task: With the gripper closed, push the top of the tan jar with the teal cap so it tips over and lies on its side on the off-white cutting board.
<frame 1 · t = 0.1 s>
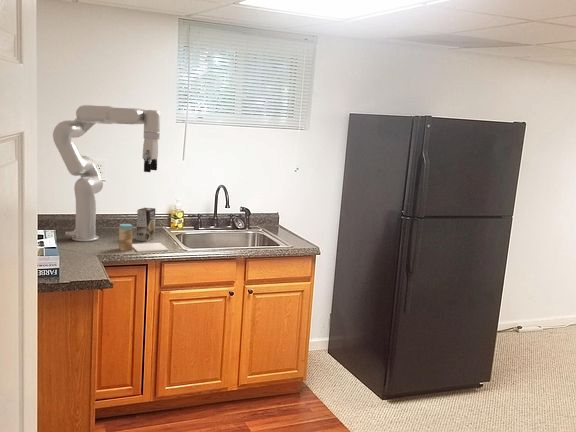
hand: (150, 171, 288), 37 cm above the counter, tool pointing down, fingers open, 9 cm apart
coffee box: (145, 239, 306), on the counter
tan jar: (125, 249, 283), on the counter
cutting board: (149, 248, 288), on the counter
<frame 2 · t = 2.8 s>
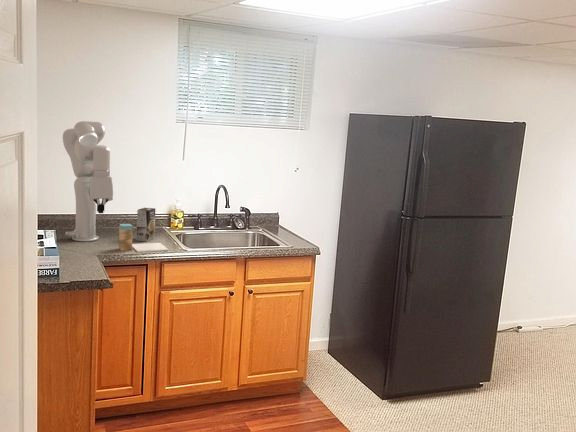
hand: (100, 212, 273), 18 cm above the counter, tool pointing down, fingers closed
nothing on the counter moved.
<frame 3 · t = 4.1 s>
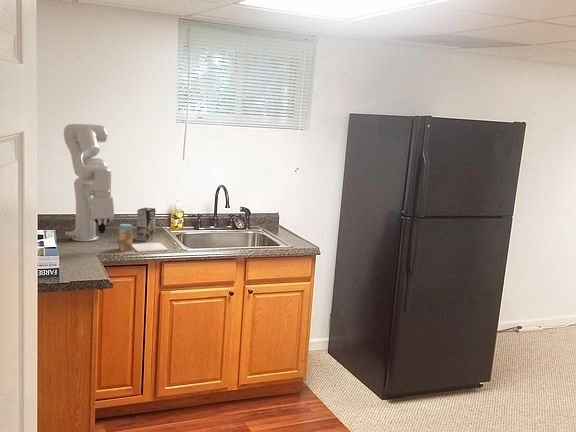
hand: (101, 232, 276), 9 cm above the counter, tool pointing down, fingers closed
nothing on the counter moved.
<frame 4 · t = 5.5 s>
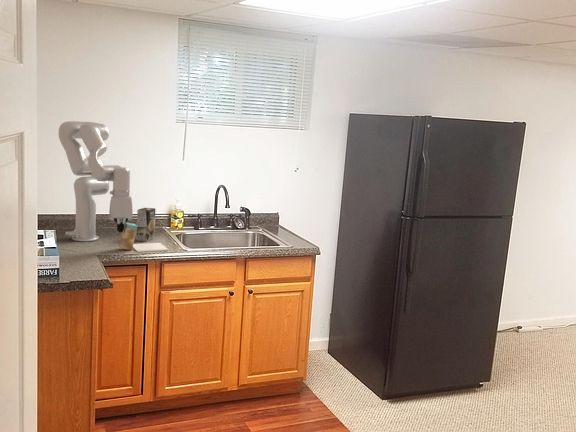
hand: (120, 231, 280), 9 cm above the counter, tool pointing down, fingers closed
tan jar: (125, 248, 282), on the counter, tilted 12°
everything else where it was.
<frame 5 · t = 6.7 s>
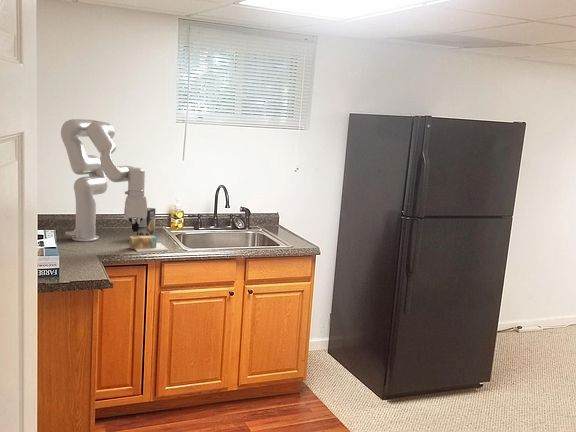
hand: (135, 231, 283), 9 cm above the counter, tool pointing down, fingers closed
tan jar: (130, 242, 283), point 3 cm above the counter, tilted 90°, touching cutting board
everything else where it was.
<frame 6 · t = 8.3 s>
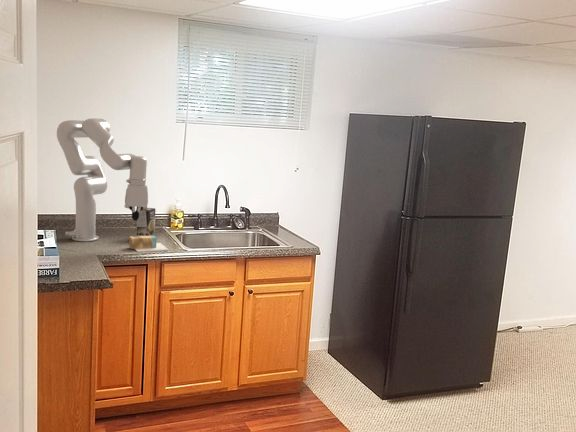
hand: (135, 219, 283), 14 cm above the counter, tool pointing down, fingers closed
nothing on the counter moved.
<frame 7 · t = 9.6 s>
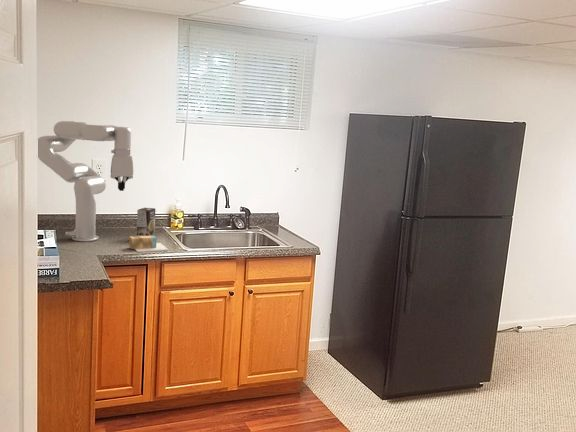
hand: (121, 190, 287), 27 cm above the counter, tool pointing down, fingers closed
nothing on the counter moved.
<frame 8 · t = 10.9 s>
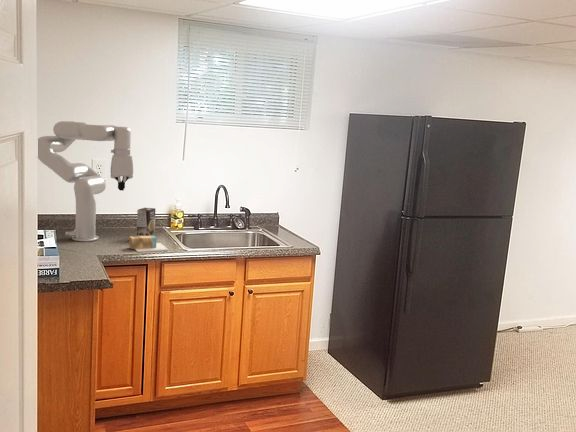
hand: (121, 190, 287), 27 cm above the counter, tool pointing down, fingers closed
nothing on the counter moved.
at the end: tan jar tilted 90°; tan jar touching cutting board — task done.
